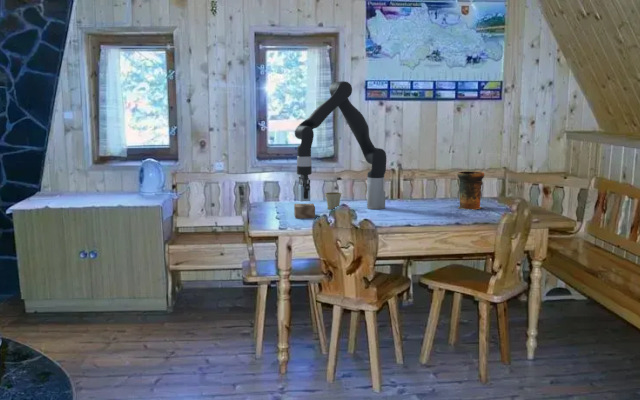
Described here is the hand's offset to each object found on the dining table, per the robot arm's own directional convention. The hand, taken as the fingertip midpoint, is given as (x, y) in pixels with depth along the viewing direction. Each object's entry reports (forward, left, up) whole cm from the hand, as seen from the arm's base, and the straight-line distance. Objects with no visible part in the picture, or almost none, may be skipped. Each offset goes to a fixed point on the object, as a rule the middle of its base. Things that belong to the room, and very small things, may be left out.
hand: (304, 197), depth 329 cm
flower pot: (-21, -17, -10) cm, 29 cm away
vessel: (-94, +3, -10) cm, 95 cm away
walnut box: (0, 0, -10) cm, 10 cm away
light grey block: (0, 0, -1) cm, 1 cm away
